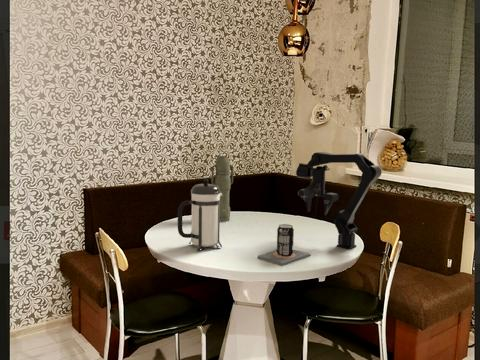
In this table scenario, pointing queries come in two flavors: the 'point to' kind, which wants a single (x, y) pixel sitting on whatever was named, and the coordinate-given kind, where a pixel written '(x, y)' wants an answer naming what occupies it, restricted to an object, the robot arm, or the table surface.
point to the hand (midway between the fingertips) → (317, 213)
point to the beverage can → (285, 240)
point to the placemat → (283, 257)
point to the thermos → (223, 184)
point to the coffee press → (203, 215)
